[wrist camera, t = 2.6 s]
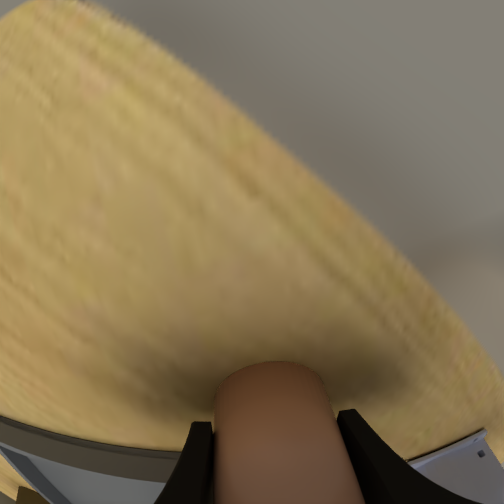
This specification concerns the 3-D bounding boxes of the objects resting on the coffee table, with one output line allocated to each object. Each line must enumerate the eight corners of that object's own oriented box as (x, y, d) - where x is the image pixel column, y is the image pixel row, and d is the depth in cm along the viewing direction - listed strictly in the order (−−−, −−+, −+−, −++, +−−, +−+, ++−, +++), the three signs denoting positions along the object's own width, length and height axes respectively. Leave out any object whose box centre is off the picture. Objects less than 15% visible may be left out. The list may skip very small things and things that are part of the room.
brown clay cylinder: (331, 356, 11) (389, 489, 5) (316, 427, 12) (346, 534, 7) (209, 363, 11) (203, 514, 5) (218, 434, 12) (220, 549, 7)
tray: (206, 453, 13) (206, 485, 11) (225, 526, 17) (225, 545, 16) (-3, 414, 12) (-15, 435, 10) (76, 506, 16) (72, 521, 15)
